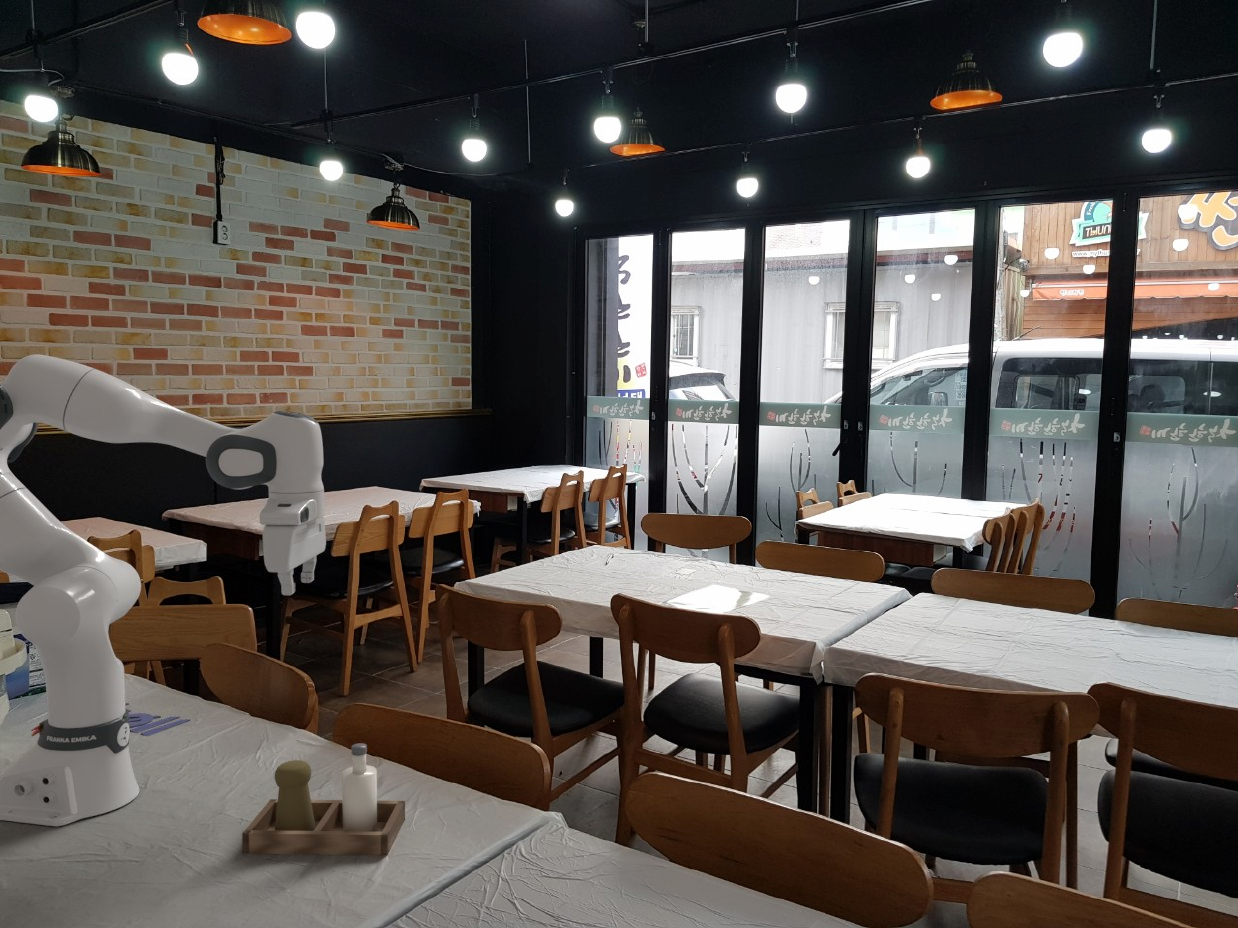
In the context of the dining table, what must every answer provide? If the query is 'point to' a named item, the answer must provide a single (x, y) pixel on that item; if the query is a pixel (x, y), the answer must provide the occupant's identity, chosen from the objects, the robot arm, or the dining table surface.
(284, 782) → the olive green pepper mill
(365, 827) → the cruet bottle
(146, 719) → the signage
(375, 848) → the condiment caddy
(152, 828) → the dining table surface
